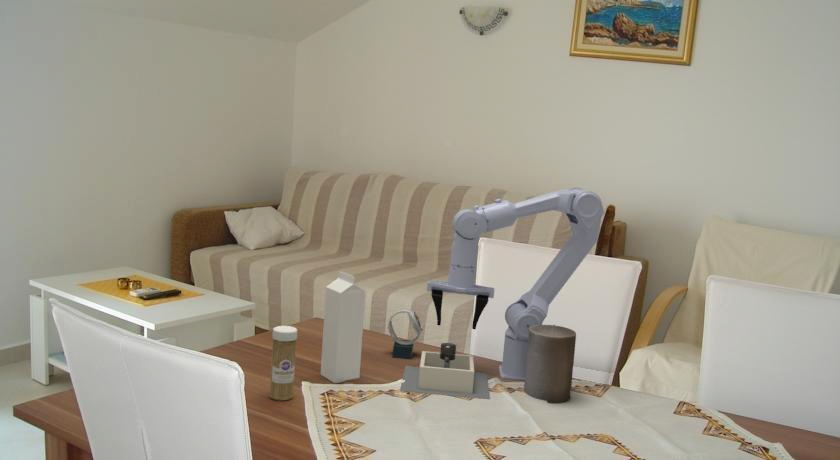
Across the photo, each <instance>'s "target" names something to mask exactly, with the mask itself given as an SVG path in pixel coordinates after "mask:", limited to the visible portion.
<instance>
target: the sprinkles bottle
mask: <svg viewBox="0 0 840 460" xmlns="http://www.w3.org/2000/svg"><path fill="white" fill-rule="evenodd" d="M271 336H272V337H271V339H272V351H271V352H272V353H271V361H270V363H271V365H270V386H269V387H270V388H269V390H270V391H269V398H270V399H272V400H275V401H289V400H291V399H292V398H294V393H293V392H294V382H295V370H296V369H295V368H296V347H297V346H296V345H297V344H296V343H297V339H298V329H297V328H296V327H294V326H291V325H290V326H289V325H278V326H275V327H273V328H272V335H271Z"/></svg>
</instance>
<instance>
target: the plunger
mask: <svg viewBox="0 0 840 460" xmlns="http://www.w3.org/2000/svg"><path fill="white" fill-rule="evenodd" d="M439 352H440V358H441V359H443V360H444V368H450V360H455V355H456V354H457V344H455V343H452V342H451V343H450V342H442V343H440V351H439Z"/></svg>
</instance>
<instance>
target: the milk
mask: <svg viewBox="0 0 840 460" xmlns="http://www.w3.org/2000/svg"><path fill="white" fill-rule="evenodd" d="M324 296H325V297H324V299H325V301H324V311H323V312H324V315H323V329H322V332H323V333H322V343H321V344H322V345H321V347H322V348H321V359H320V360H321V362H320V376H322V377H324V378H325V379H327V380H329V381H330V382H331V383H333V384H339V383H345V382H346V381H348V380H355V379H360V378H361V377H360V375H361V372H360V371H361V362H362V347H363V335H364V334H363V333H364V330H363V329H364V320H365V319H364V317H365V304H366V303H365V300H366V290H364V289H363V288H362V287H360V286H359V285H357V284H355V276H354V275H352V274H349V273H346V272H345V271H342V270H339V272H338V277H337V278H336V279H334V280H333V281H332V282H331V283H329V284H328V285H326V287H325V295H324Z"/></svg>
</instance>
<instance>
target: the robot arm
mask: <svg viewBox="0 0 840 460" xmlns="http://www.w3.org/2000/svg"><path fill="white" fill-rule="evenodd" d="M551 211H556V212H561V213H563V214H565V215H566V217H567V218H568V220H569V225H570V229H571V230H570V231H571V235H570V237H569V238H568V239H567V241H566V242H565V243H564V244H563V246H562V247H561V249H560V250H559V251H558V253H556V255H555V257H554V258H553V259H552V260H551V262H550V263H549V264H548V266H547V267H546V269H545V270H544V271H543V272H542V273H541V275H540V276H539V278H538V279H537V280H536V282H535V283H534V284H533V286H532V287H531V288H530V290H528V291H527V292H525V293H523V294H522V295H521V296H520V297H519V298H518V300H517V301H514V302H513V303H511V304H510V305H508V306H507V308H506V310H505V313H504V320H505V323H506V324H507V326H508V327H507V329H506V330H505V332H504V344H503V354H502V363H501V364H500V365H498V369H499V371H498V372H499V374H500V378H502V379H511V380H521V381H522V380H523V381H525V372H526V361H527V350H528V338H529V328H530V327H531V326H534V325H543V323H544V321H545V319H546V318H547V317H548V313H549V312H548V311H549V308H550V304H551V303H552V302H553V301H554V299H555V298H556V297H557V295H558V294H559V292H560V291H561V290H562V288H563V287H564V286H565V285H566V283H567V282H568V281H569V280H570V278H571V277H572V275H573V274H574V273H575V271H577V268H578V267H579V266H580V264H582V262H583V261H584V259H585V258H586V257H587V255H588V254H589V253H590V252H591V250H592V249H593V247H595V245H596V243H598V242H597V241H598V240H599V236H600V230H601V222H602V217H603V216H604V214H605V210H604V207H603V202H602V198H600V196H599V194H598V193H596V192H594V191H592V190H586V189H585V190H584V189H583V188H581V187H571V188H569V189H567V188H566V189H559V190H555V191H551V192H548V193H545V194H542V195H538V196H535V197H534V196H533V197H532V198H529V199H525V200H521V201H519V202H516V203H513V202H511V201H510V200H508V199H504V200H503V199H502V198H497V199H494V202H493V203H489V204H486V205H485V204H484V205H481V206H479V205H478V204H477V205H473V210H472V209H469V208H467V209H465V208H463V209H461V210H459V211H458V212H457V213H456V214H455V215H454V217H453V219H452V221H451V225H452V229H453V230H454V231H453V232H454V233H453V236H452V240H453V241H452V243H451V252H450V262H449V268H448V279H447V281H443V280H442V281H439V280H437V281H436V280H428V281H427V283H426V291H427V292H431V293H430V294H431V295H430V296H431V298H432V301H433V304H434V308H435V313H436V320H437V322H436V323H437V324H436V326H441V325H442V324H441V323H442V307H443V298H444V297H443V294H444V293H447V294H448V293H449V294H450V293H451V294H456V295H457V294H459V295H468V296H475V306H474V314H473V320H472V324H471V325H472V326H471V327H472V330H477V325H478V322H479V319H480V317H481V314H482V313H483V311H484V310H485V308H486V306H487V305H488V302H489V299H494V296H495V288H494V287H490V286H483V285H478V284H475V283H476V282H475V281H476V272H477V263H478V255H479V241H480V236H481V235H482V234H483V233H489V232H493V231H497V230H500V229H505V228H508V227H512V226H514V224H515V223H516V221H517V220H518V219H520V218H524V217H529V216H533V215H536V214H542V213H546V212H551Z"/></svg>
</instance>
